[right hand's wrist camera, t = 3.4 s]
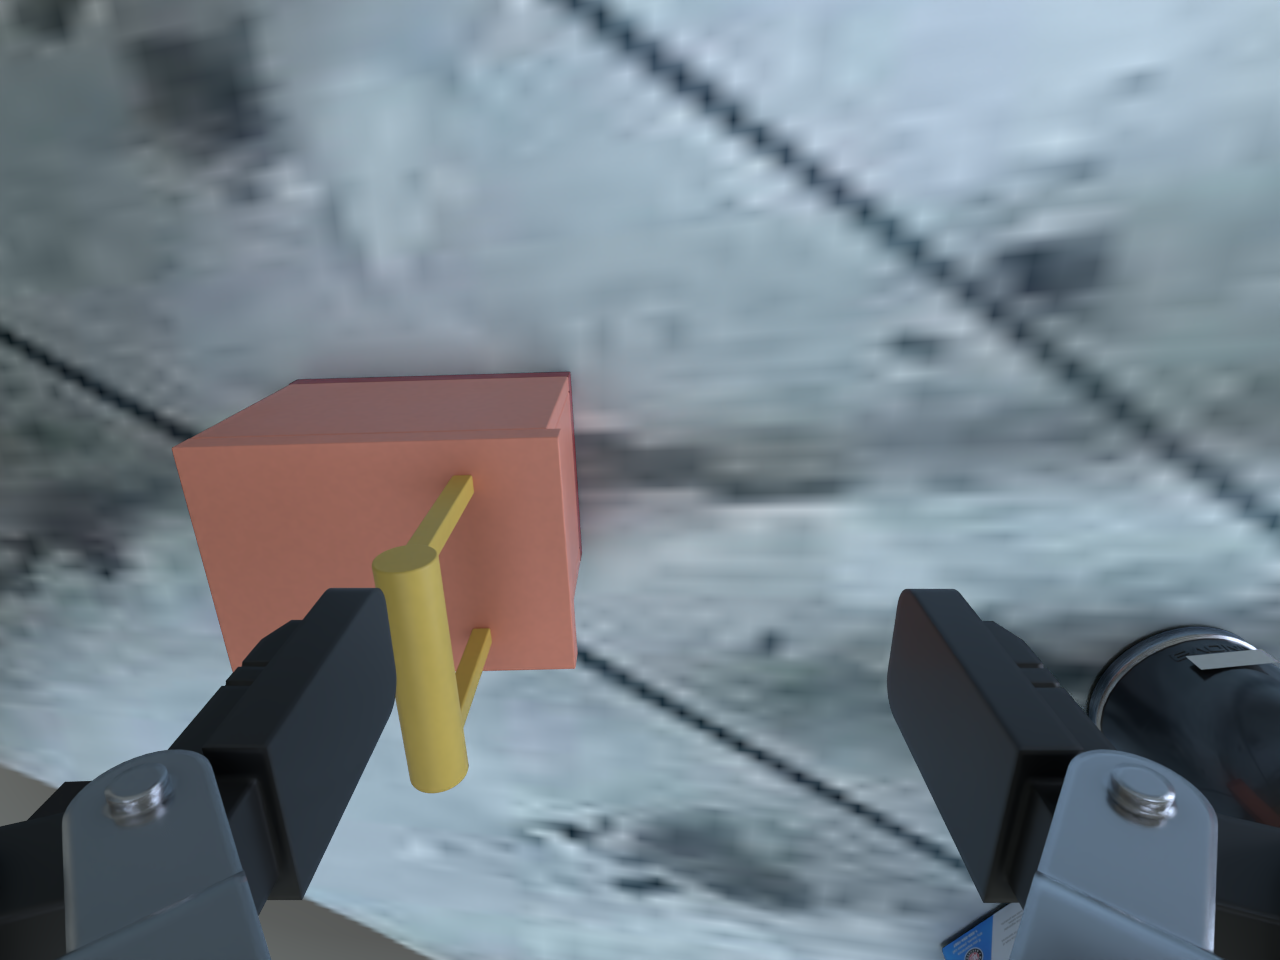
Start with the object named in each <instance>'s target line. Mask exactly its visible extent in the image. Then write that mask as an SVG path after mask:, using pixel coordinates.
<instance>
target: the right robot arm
mask: <svg viewBox="0 0 1280 960" xmlns="http://www.w3.org/2000/svg"><path fill="white" fill-rule="evenodd" d="M1276 662H1279V661H1277V660H1276V659H1275V658H1273V657H1272V656H1270V655H1269V654H1268V653H1266V652H1265V651H1264V650H1262V649H1256V648H1255V647H1253V646H1252V645H1250V644H1249V643H1248V642H1246V641H1245V640H1244V639H1242V638H1241V637H1239V636H1237V635H1235V634H1233V633H1231V632H1228V631H1226V630H1222V629H1218V628H1212V627H1184V628H1178V629H1173V630H1169V631H1165V632H1162V633H1159V634H1157V635H1154V636H1152V637H1149V638H1147V639H1145V640H1143V641H1141V642H1139V643H1138V644H1136V645H1134V646H1133V647H1131V648H1130V649H1128V650H1127V651H1126V652H1124V653H1123V654H1122V655H1121V656H1119V657H1118V658H1117V659H1116V660H1115V661H1114V662H1113V663H1112V664H1111V665H1110V666H1109V667H1108V668H1107V669H1106V671H1105V672H1104V673H1103V675H1102V676H1101V678H1100V679H1099V681H1098V683H1097V684H1096V686H1095V689H1094V691H1093V693H1092V696H1091V700H1090V704H1089V717H1088V716H1087V715H1086V713H1085V712H1084V711H1083V710H1082V709H1081V708H1080V706H1079V705H1078V704H1077V703H1076V702H1075V700H1074V699H1073V698H1072V697H1071V696H1070V695H1069V693H1068V692H1067V691H1066V690H1065V689H1064V688H1060V686H1059V682H1058V681H1057V679H1056V678H1055V677H1054V676H1053V675H1052V674H1051V672H1050V671H1049V670H1048V669H1047V668H1043V663H1042V662H1041V661H1040V660H1039V658H1038V657H1037V656H1036V655H1035V654H1034V652H1033V651H1032V650H1031V649H1030V648H1029V647H1028V645H1027V644H1026V643H1025V642H1024V641H1023V640H1022V639H1020V638H1018V637H1017V636H1015V635H1014V634H1012V633H1011V632H1009V631H1007V630H1006V629H1004V628H1003V627H1001V626H1000V625H998V624H997V623H995V622H993V621H982V620H981V619H980V618H979V617H978V615H977V614H976V613H975V612H974V610H973V609H972V608H971V607H970V605H969V604H968V603H967V602H966V600H965V599H964V598H963V597H962V595H961V594H960V593H959V592H958V591H957V590H955V589H905V590H903V591H902V593H901V595H900V597H899V600H898V605H897V612H896V619H895V626H894V632H893V639H892V646H891V653H890V660H889V666H888V674H887V690H888V699H889V704H890V708H891V711H892V714H893V716H894V718H895V721H896V723H897V725H898V727H899V729H900V731H901V733H902V735H903V737H904V739H905V741H906V743H907V745H908V747H909V750H910V752H911V754H912V756H913V758H914V760H915V762H916V764H917V766H918V768H919V770H920V772H921V774H922V776H923V779H924V781H925V783H926V785H927V787H928V789H929V791H930V793H931V795H932V797H933V799H934V801H935V803H936V805H937V808H938V810H939V812H940V814H941V816H942V818H943V820H944V822H945V824H946V826H947V828H948V830H949V832H950V834H951V836H952V839H953V841H954V843H955V845H956V847H957V849H958V851H959V853H960V855H961V857H962V859H963V861H964V863H965V865H966V868H967V870H968V872H969V874H970V876H971V878H972V880H973V882H974V884H975V886H976V888H977V890H978V892H979V894H980V897H981V899H982V901H983V903H1019V904H1020V905H1021V907H1022V909H1023V914H1022V917H1021V921H1020V924H1019V927H1018V931H1017V934H1016V937H1015V940H1014V944H1013V947H1012V950H1011V954H1010V957H1009V960H1280V669H1279V668H1278V667H1277V666H1275V665H1274V664H1273V663H1276ZM396 684H397V677H396V667H395V660H394V653H393V646H392V639H391V632H390V626H389V619H388V612H387V605H386V600H385V596H384V594H383V592H382V590H381V589H380V588H329V589H327V590H326V591H325V592H324V593H323V594H322V596H321V597H320V598H319V599H318V601H317V602H316V603H315V605H314V606H313V607H312V608H311V610H310V611H309V612H308V613H307V615H306V616H305V617H304V619H303V620H290V621H289V622H287V623H286V624H284V625H283V626H281V627H280V628H278V629H276V630H275V631H273V632H272V633H270V634H269V635H267V636H266V637H264V638H262V639H261V640H260V641H259V642H258V644H257V645H256V646H255V647H254V648H253V650H252V651H251V652H250V653H249V654H248V655H247V657H246V658H245V659H244V660H243V661H242V666H241V667H237V668H236V670H235V671H234V672H233V673H232V674H231V676H230V677H229V678H228V679H227V680H226V685H225V686H221V687H220V689H219V690H218V691H217V692H216V693H215V694H214V696H213V697H212V698H211V699H210V700H209V702H208V703H207V704H206V705H205V706H204V707H203V709H202V710H201V711H200V712H199V713H198V715H197V716H196V717H195V718H194V719H193V720H192V722H191V723H190V724H189V725H188V726H187V728H186V729H185V730H184V731H183V732H182V733H181V735H180V736H179V737H178V738H177V739H176V741H175V742H174V743H173V744H172V745H171V746H170V748H169V749H168V750H164V751H158V752H153V753H149V754H145V755H142V756H139V757H136V758H133V759H131V760H128V761H126V762H123V763H121V764H119V765H117V766H115V767H113V768H111V769H110V770H108V771H106V772H105V773H103V774H101V775H100V776H98V777H97V778H95V779H94V780H93V781H91V782H90V783H89V784H88V785H86V786H85V787H84V788H83V789H82V790H81V791H80V792H79V793H78V794H77V795H76V796H75V797H74V798H73V800H72V801H71V802H70V804H69V805H68V807H67V808H66V811H65V812H63V813H58V814H54V815H50V816H45V817H41V818H36V819H32V820H27V821H23V822H19V823H14V824H10V825H5V826H1V827H0V960H271V957H270V954H269V950H268V947H267V944H266V941H265V937H264V934H263V931H262V927H261V924H260V921H259V917H258V916H259V914H260V912H261V910H262V908H263V906H264V904H265V902H266V900H302V899H303V897H304V895H305V893H306V891H307V888H308V886H309V884H310V882H311V880H312V878H313V876H314V874H315V872H316V870H317V867H318V865H319V863H320V861H321V859H322V857H323V855H324V853H325V851H326V849H327V847H328V844H329V842H330V840H331V838H332V836H333V834H334V832H335V830H336V828H337V826H338V823H339V821H340V819H341V817H342V815H343V813H344V811H345V809H346V807H347V805H348V802H349V800H350V798H351V796H352V794H353V792H354V790H355V788H356V786H357V784H358V782H359V779H360V777H361V775H362V773H363V771H364V769H365V767H366V765H367V763H368V761H369V758H370V756H371V754H372V752H373V750H374V748H375V746H376V744H377V742H378V740H379V738H380V735H381V733H382V731H383V729H384V727H385V725H386V723H387V721H388V719H389V717H390V714H391V712H392V709H393V705H394V701H395V695H396Z"/></svg>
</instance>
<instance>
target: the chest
mask: <svg viewBox="0 0 1280 960" xmlns="http://www.w3.org/2000/svg"><path fill="white" fill-rule="evenodd" d="M525 429H561V430H562V443H563V457H564V472H565V486H566V500H567V514H568V528H569V542H570V556H571V570H572V584H573V598H574V595H575V589H576V583H577V577H578V571H579V565H580V561H581V555H582V546H581V531H580V515H579V500H578V484H577V469H576V453H575V438H574V422H573V407H572V391H571V376H570V372H544V373H509V374H474V375H440V376H405V377H370V378H335V379H300V380H296V381H294V382H292V383H290V384H289V385H288V386H287V387H285V388H283V389H281V390H279V391H277V392H275V393H274V394H272V395H270V396H268V397H266V398H264V399H262V400H261V401H259V402H257V403H255V404H253V405H251V406H249V407H247V408H246V409H244V410H242V411H240V412H238V413H236V414H234V415H233V416H231V417H229V418H227V419H225V420H223V421H221V422H220V423H218V424H216V425H214V426H212V427H210V428H208V429H207V430H205V431H203V432H201V433H199V434H197V435H195V436H194V437H192V438H191V439H201V438H237V437H273V436H309V435H345V434H381V433H417V432H453V431H489V430H525Z"/></svg>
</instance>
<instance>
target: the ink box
mask: <svg viewBox="0 0 1280 960" xmlns="http://www.w3.org/2000/svg"><path fill="white" fill-rule="evenodd" d="M1022 914H1023V909H1022V907H1021V905H1020V904H1019V903H1010V904H1009V905H1007V906H1005V907H1004V908H1002V909H1001V910H999V911H998V912H996V913H995V914H993V915H992V916H990V917H989V918H987V919H986V920H984V921H983V922H981V923H980V924H978V925H977V926H975V927H974V928H973V929H971V930H969V931H968V932H966V933H965V934H963V935H962V936H960V937H959V938H957V939H956V940H954V941H953V942H951V943H950V944H948V945H947V946H945V947H944V948H942V951H943V954H944V957H945V959H946V960H1009V957H1010V954H1011V950H1012V947H1013V944H1014V940H1015V937H1016V934H1017V931H1018V927H1019V924H1020V921H1021V917H1022Z"/></svg>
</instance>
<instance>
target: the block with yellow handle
mask: <svg viewBox="0 0 1280 960" xmlns="http://www.w3.org/2000/svg"><path fill="white" fill-rule="evenodd" d="M172 452H173V455H174V459H175V463H176V466H177V470H178V474H179V477H180V481H181V484H182V488H183V492H184V495H185V499H186V503H187V506H188V510H189V514H190V517H191V521H192V525H193V528H194V532H195V536H196V539H197V543H198V547H199V550H200V554H201V558H202V561H203V565H204V569H205V572H206V576H207V580H208V583H209V587H210V591H211V594H212V598H213V602H214V605H215V609H216V613H217V616H218V620H219V623H220V627H221V631H222V634H223V638H224V642H225V645H226V649H227V653H228V656H229V660H230V664H231V667H232V671H233V672H234V671H235V670H236V668H237V667H241V666H242V661H243V660H244V659H245V658H246V657H247V655H248V654H249V653H250V652H251V651H252V650H253V648H254V647H255V646H256V645H257V644H258V642H259V641H260V640H261V639H262V638H264V637H266V636H267V635H269V634H270V633H272V632H273V631H275V630H276V629H278V628H280V627H281V626H283V625H284V624H286V623H287V622H289V621H290V620H303V619H304V617H305V616H306V615H307V613H308V612H309V611H310V610H311V608H312V607H313V606H314V605H315V603H316V602H317V601H318V599H319V598H320V597H321V596H322V594H323V593H324V592H325V591H326V590H327V589H329V588H380V589H381V590H382V592H383V594H384V596H385V600H386V605H387V612H388V619H389V626H390V632H391V639H392V646H393V653H394V660H395V667H396V677H397V684H396V695H395V698H396V704H397V709H398V715H399V720H400V726H401V731H402V737H403V743H404V748H405V754H406V759H407V765H408V770H409V776H410V781H411V783H412V785H413V786H414V787H415V788H416V789H417V790H419V791H421V792H425V793H439V792H443V791H446V790H449V789H451V788H453V787H455V786H456V785H457V784H459V783H460V782H461V781H462V780H463V779H464V777H465V776H466V774H467V771H468V758H467V751H466V744H465V737H464V730H463V727H464V724H465V721H466V718H467V715H468V712H469V709H470V706H471V703H472V700H473V697H474V694H475V691H476V688H477V685H478V682H479V679H480V676H481V673H482V671H497V670H539V669H574V668H575V667H576V660H577V641H576V627H575V613H574V598H573V584H572V570H571V556H570V542H569V528H568V514H567V500H566V486H565V472H564V457H563V443H562V430H561V429H525V430H489V431H453V432H417V433H381V434H345V435H309V436H273V437H237V438H201V439H187V440H185V441H184V442H182V443H180V444H178V445H176V446H174V447H172ZM455 671H456V673H455Z"/></svg>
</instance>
